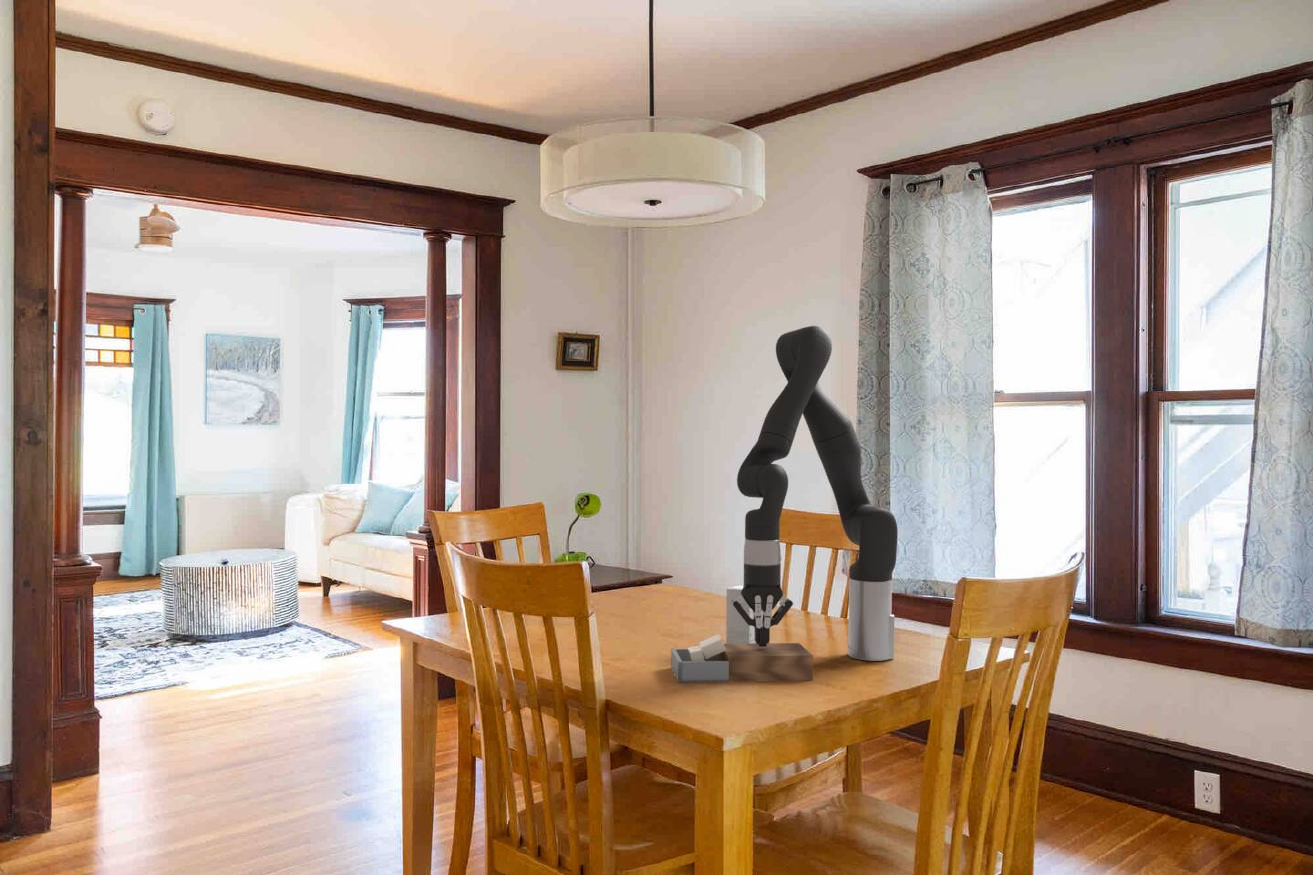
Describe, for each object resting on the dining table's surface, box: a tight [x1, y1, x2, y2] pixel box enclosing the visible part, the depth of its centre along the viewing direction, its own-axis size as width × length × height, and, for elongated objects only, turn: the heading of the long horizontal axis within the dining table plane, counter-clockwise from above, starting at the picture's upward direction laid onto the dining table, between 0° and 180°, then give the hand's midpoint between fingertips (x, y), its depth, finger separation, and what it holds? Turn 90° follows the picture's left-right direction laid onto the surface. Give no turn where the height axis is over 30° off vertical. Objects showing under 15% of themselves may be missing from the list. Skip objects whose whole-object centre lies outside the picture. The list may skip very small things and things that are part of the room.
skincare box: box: [725, 584, 763, 644], centre depth 213 cm, size 8×6×15 cm
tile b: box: [687, 644, 705, 661], centre depth 194 cm, size 4×4×2 cm
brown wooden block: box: [719, 642, 814, 683], centre depth 195 cm, size 17×11×5 cm, turn 96°
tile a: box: [698, 633, 726, 659], centre depth 195 cm, size 4×4×2 cm
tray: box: [670, 647, 729, 684], centre depth 193 cm, size 10×12×4 cm
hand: (761, 645), depth 195 cm, fingers closed
